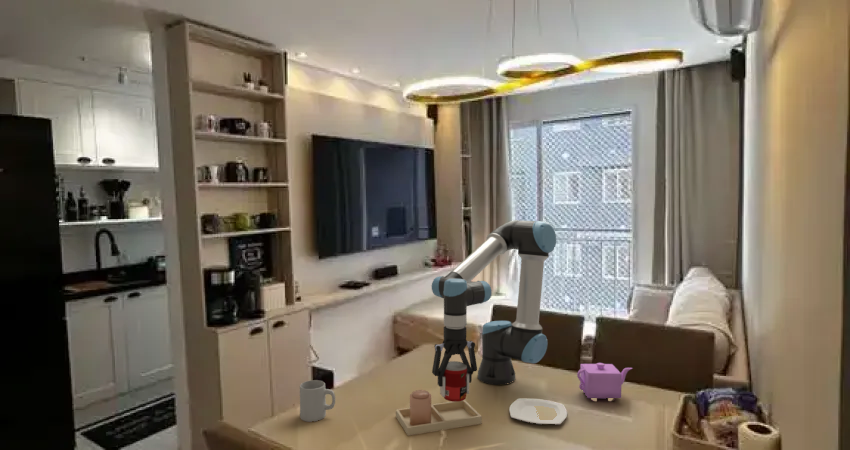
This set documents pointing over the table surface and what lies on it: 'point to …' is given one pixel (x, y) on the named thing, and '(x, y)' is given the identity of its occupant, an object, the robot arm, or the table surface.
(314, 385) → the mug
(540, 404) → the plate
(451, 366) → the canned food
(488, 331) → the robot arm
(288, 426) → the table surface
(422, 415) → the jar
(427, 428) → the divided tray
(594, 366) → the teapot
